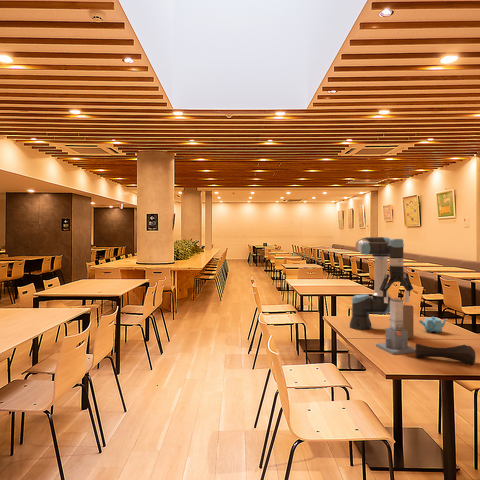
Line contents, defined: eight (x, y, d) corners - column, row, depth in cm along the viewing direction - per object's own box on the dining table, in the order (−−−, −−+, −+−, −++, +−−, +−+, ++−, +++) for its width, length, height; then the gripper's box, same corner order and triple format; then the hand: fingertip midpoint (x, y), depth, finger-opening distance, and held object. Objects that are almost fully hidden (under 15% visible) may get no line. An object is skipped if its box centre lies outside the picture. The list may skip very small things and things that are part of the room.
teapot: (420, 333, 250) (420, 318, 250) (417, 328, 263) (417, 314, 263) (450, 335, 245) (450, 319, 245) (445, 330, 258) (445, 315, 258)
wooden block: (413, 336, 242) (413, 305, 242) (413, 339, 233) (413, 308, 233) (396, 334, 247) (396, 304, 247) (396, 338, 238) (396, 306, 238)
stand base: (376, 346, 220) (376, 326, 220) (399, 344, 223) (399, 325, 223) (392, 354, 204) (392, 333, 204) (418, 352, 208) (418, 331, 208)
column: (389, 345, 216) (388, 298, 216) (397, 344, 217) (397, 298, 217) (395, 347, 210) (395, 300, 210) (404, 347, 211) (404, 300, 211)
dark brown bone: (477, 367, 190) (416, 366, 201) (473, 346, 195) (414, 346, 206) (478, 363, 181) (415, 361, 193) (474, 341, 186) (413, 341, 198)
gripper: (380, 266, 207) (381, 304, 207) (419, 265, 213) (419, 302, 212) (373, 265, 214) (373, 302, 214) (410, 264, 220) (411, 300, 220)
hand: (396, 302), depth 213 cm, fingers open, 13 cm apart
